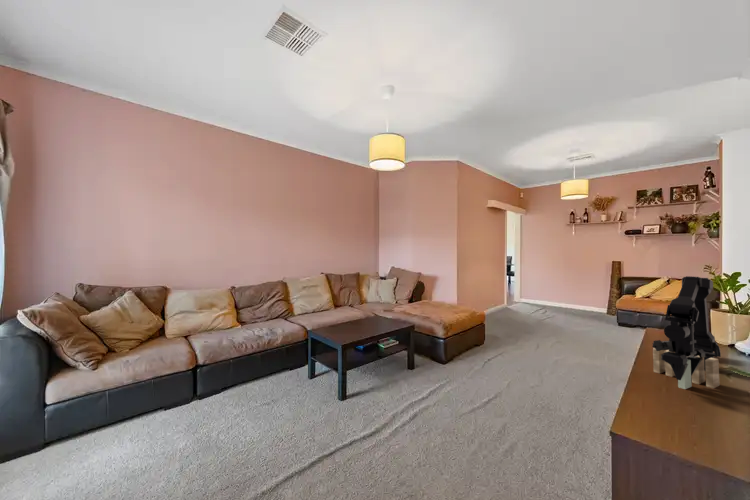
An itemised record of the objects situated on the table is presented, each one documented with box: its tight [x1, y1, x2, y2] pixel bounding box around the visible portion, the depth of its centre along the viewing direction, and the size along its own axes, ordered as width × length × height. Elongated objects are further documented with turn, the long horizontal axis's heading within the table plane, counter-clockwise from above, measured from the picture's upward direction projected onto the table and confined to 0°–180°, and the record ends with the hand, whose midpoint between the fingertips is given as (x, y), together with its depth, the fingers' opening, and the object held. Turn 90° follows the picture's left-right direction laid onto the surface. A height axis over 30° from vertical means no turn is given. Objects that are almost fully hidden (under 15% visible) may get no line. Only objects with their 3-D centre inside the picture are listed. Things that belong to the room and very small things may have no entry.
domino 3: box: [677, 359, 693, 390], centre depth 117 cm, size 2×5×10 cm, turn 115°
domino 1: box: [652, 347, 666, 375], centre depth 131 cm, size 2×5×10 cm, turn 115°
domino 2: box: [665, 350, 676, 378], centre depth 128 cm, size 2×5×10 cm, turn 115°
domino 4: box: [691, 355, 706, 385], centre depth 121 cm, size 2×5×10 cm, turn 115°
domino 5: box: [705, 357, 720, 389], centre depth 117 cm, size 2×5×10 cm, turn 115°
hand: (684, 377), depth 117 cm, fingers open, 8 cm apart
